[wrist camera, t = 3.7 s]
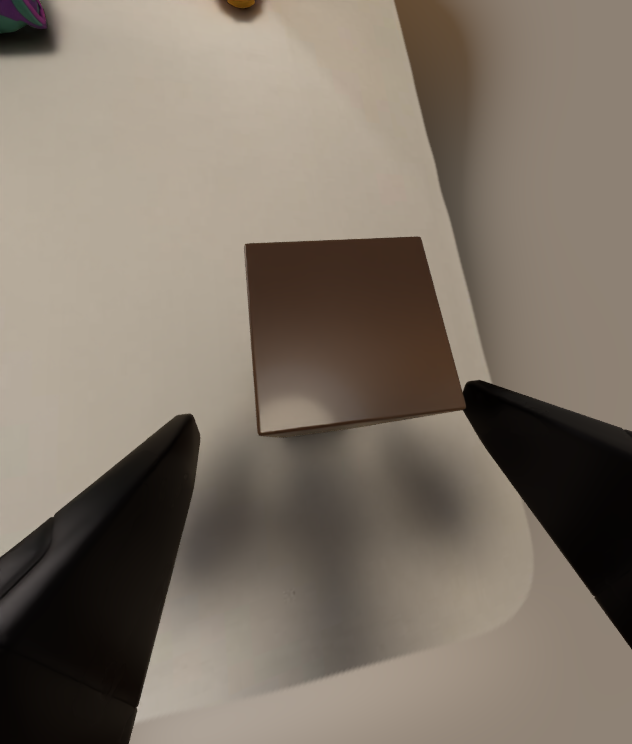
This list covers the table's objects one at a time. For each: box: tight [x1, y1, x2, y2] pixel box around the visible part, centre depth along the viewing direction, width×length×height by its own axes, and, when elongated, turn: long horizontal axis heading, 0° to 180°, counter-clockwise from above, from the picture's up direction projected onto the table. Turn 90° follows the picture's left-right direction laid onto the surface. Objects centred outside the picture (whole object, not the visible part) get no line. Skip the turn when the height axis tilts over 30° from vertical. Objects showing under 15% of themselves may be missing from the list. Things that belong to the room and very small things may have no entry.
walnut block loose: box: [244, 237, 466, 438], centre depth 12 cm, size 4×4×12 cm
